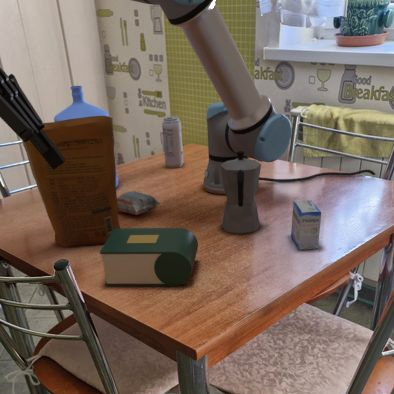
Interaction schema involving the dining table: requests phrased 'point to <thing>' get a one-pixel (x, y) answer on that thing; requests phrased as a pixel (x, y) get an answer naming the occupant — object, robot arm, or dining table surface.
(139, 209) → the packaged food
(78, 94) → the water jug
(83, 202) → the pancake mix bag
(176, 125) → the energy drink can
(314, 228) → the medicine box
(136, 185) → the dining table surface
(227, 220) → the coffeepot
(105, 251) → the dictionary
